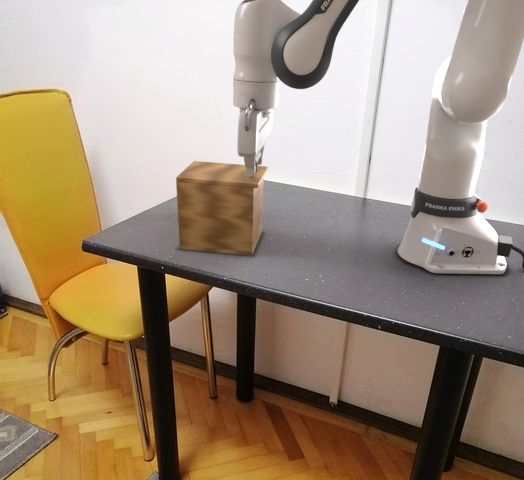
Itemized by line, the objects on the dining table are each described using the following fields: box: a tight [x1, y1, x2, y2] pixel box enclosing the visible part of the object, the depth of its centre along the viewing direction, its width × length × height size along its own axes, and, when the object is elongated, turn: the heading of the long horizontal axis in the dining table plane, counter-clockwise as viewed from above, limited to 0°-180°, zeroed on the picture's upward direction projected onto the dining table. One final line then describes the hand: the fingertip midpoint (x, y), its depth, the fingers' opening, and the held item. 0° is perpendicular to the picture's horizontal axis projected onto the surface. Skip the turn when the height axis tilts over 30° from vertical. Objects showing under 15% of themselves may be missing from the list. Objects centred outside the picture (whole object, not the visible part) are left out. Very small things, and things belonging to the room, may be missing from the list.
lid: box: [175, 151, 269, 188], centre depth 110 cm, size 17×14×5 cm
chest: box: [175, 177, 265, 257], centre depth 115 cm, size 16×14×14 cm
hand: (254, 169), depth 110 cm, fingers open, 8 cm apart
